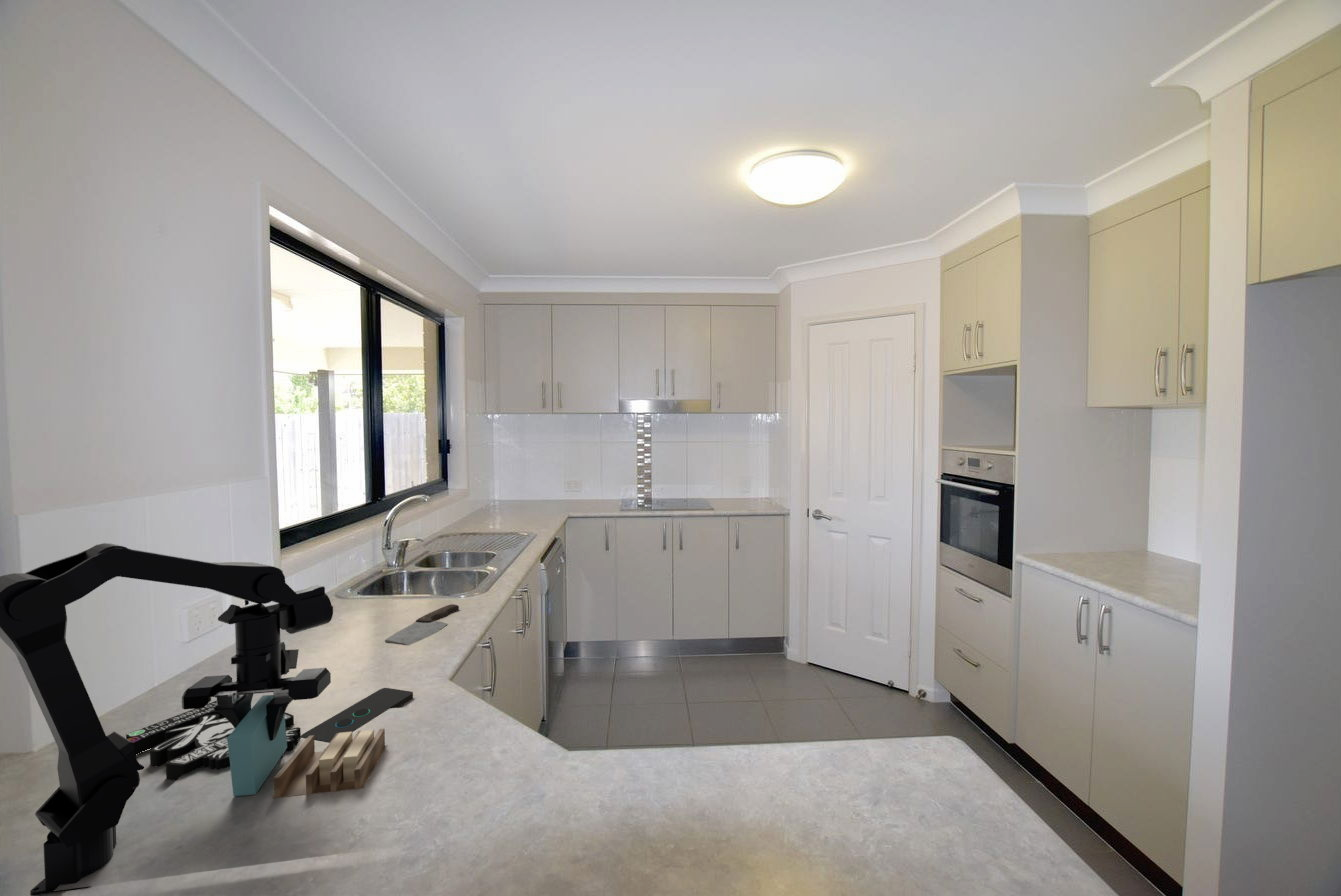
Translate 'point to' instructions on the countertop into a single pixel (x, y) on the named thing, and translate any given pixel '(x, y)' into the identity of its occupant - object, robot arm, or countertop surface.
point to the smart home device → (359, 713)
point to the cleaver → (422, 627)
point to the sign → (194, 741)
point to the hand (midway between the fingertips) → (261, 740)
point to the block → (254, 749)
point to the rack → (305, 776)
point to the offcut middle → (333, 756)
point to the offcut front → (356, 754)
